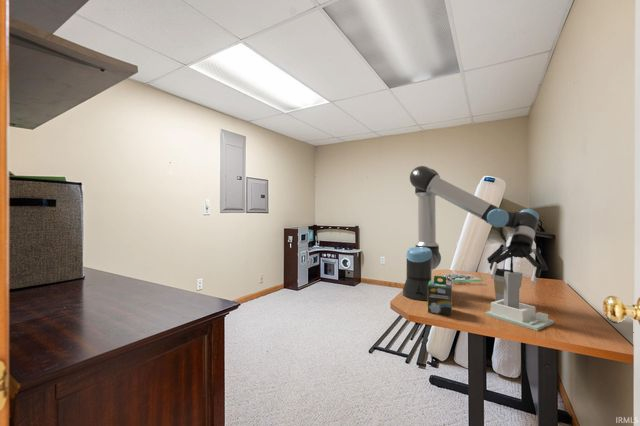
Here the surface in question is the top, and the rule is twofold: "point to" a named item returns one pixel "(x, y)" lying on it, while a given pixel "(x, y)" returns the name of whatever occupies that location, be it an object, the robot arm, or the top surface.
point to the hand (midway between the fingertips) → (511, 279)
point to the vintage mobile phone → (512, 286)
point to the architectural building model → (519, 315)
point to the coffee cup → (499, 283)
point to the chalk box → (440, 296)
